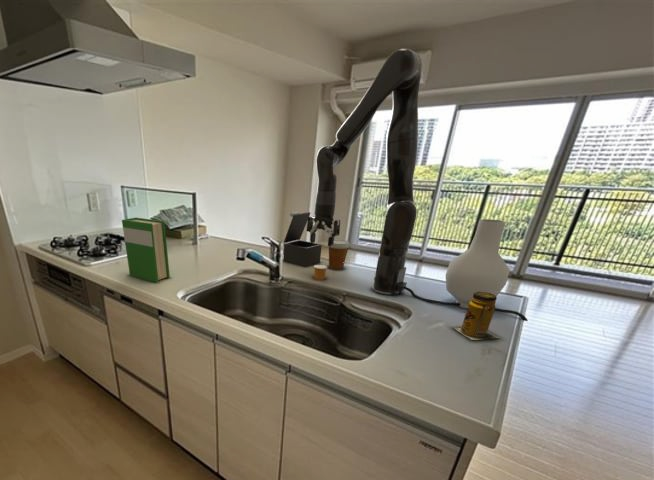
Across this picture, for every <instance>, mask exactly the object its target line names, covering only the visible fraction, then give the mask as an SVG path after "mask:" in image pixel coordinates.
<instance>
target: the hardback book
mask: <svg viewBox="0 0 654 480" xmlns="http://www.w3.org/2000/svg"><path fill="white" fill-rule="evenodd" d="M121 224H122V225H121V226H122V231H123V238H124V239H123V240H124V246H125V251H126V252H125V253H126V259H127V264H128V272H129V276H130V277H131V276H132V277H134V278H138V279H141V280H145V281H149V282H152V283H157V284H158V283H160V282H159V280H160V281H161V280H162V279H170V278H171V275H170V265H169V254H168V245H167V236H166V235H167V234H166V223H165V220H158V219H151V218H150V219H149V218H144V217H131V218H125V219H124V218H123V219H121Z"/></svg>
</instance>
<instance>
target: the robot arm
mask: <svg viewBox="0 0 654 480" xmlns="http://www.w3.org/2000/svg"><path fill="white" fill-rule="evenodd" d="M422 68H423V62H422V58H421V56H420V54H419V53H418V52H416V51H414V50H413V49H410V48H406V47H402V48H401V47H400V48H398V49H396V50H394V51H392V53H390V54H389V56H388V57H387V58H386V59H385V61H384V63H383V64H382V66H381V68H380V69H379V71H378V73H377V75H376V76H375V78H374V80H373V81H372V83H371V84H370V86H369V88H368V89H367V91H366V92H365V94H364V95H363V97H362V99H361V100H360V102H359V103H358V104H357V106H356V107H355V108H354V110H353V111H352V112H351V113H350V115H349V116H348V117H347V119H346V120H345V121H344V122H343V124H342V125H341V126H340V128H339V129H338V130H337V132H336V134H335V139H336V140H335V141H334V143H333V144H332V145H324V146H322V147H320V149H319V150H318V152H317V155H316V161H315V164H316V174H317V179H318V180H317V188H316V189H317V190H316V195H315V203H314V204H315V205H314V215H311V216H309V217H308V221H307V223H306V232H309V242H311V243H316V236H317V233H316V232H317V231H318V230H323V231H325V232H326V233H327V234H328V237H327V238H328V239H327V246H328V247H329V246H332V245H333V244H334V240H335V238H336V237H338V236H340V233H341V232H340V231H341V220H340V219H334V215H335V209H336V201H337V185H338V175H336V173H334V167H336V166H338V165H340V164H341V163H342V162H343V161H344V159H345V158H346V157H347V155H348V153H349V151H350V149H351V148H352V146H353V144H354V143H356V141H357V140H358V139H359V138H360V137H361V135H362V134H363V133H364V132H365V131H366V129H367V128H368V127H369V125H370V123H371V121H372V119H373V118H374V116H375V114H376V113H377V111H378V109H379V108H380V107H381V106H382V104H383V103H384V101H385V100H386V99H387V98H388V97H389V96H390V95H391V94H392V111H391V116H390V120H389V124H388V128H387V132H386V137H385V138H386V140H385V141H386V142H385V160H386V171H387V177H388V196H387V205H386V210H385V219H384V223H383V231H382V235H381V240H380V246H379V250H378V251H379V252H378V258H377V263H376V267H375V273H374V277H373V285H372V291H373V292H375V293H377V294H380V295H386V296H387V295H389V296H396V295H398V294H399V293H403V291H407V292H409V293H410V294H411V296H412V297H414V298H415V299H418V300H420V301H422V302H423V301H424V302H427V303H432V304H437V305H443V306H456V307H460V303H456V302H448V301H440V300H435V299H430V298H429V299H428V298H424V297H421V296H419V295H417V294H415V293H414V290H413V289H411V288H409V287H407V282H405V276H406V272H407V267H406V266H405V265H406V261H407V255H408V252H409V247H410V242H411V240H412V236H413V233H414V228H415V225H416V221H417V215H418V213H417V212H418V211H417V207H416V205H415V201H414V187H413V182H414V175H415V170H416V166H417V159H418V149H419V106H418V105H419V93H420V84H421V76H422ZM494 312H499V313H504V314H505V313H506V314H512V315H516V316H518V317H520V318H521V319H522V321H524V322H529V321H528V318H527V317H526V316H525V315H524V314H523V313H521V312H520V311H519V312H518V311H516V310H511V309H503V308H498V307H495V311H494Z"/></svg>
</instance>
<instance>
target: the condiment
mask: <svg viewBox="0 0 654 480" xmlns="http://www.w3.org/2000/svg"><path fill="white" fill-rule="evenodd" d="M497 299H498V297H496V296H495V295H493V294H491V293H486V292H475V293H474V294H473V298H472V301H470V302H469V305H468V308H466V312H465V315H464V318H463V322H462V324H461V327H457V328H456V327H453V329H454V330H456V331H457V332H458V333H460V334H461V335H463V336H464V337H466V338H467V339H469V340H471V341H478V340H480V341H481V340H491V339H492V340H493V339H501V337H500V336H497V335H495V334H493V333H492V332H490V331H488V330H489V328H490V324H491V322H492V319H493V316H494V314H495V312H496V311H495V308H496V302H497Z"/></svg>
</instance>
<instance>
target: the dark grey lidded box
mask: <svg viewBox="0 0 654 480" xmlns="http://www.w3.org/2000/svg"><path fill="white" fill-rule="evenodd" d="M283 243H284V242H283ZM322 245H323V244H321V243H317V242H314V243H311V241H308V240H301V239H299V240H295V241H291V242H287V243H284V244H283V255H284V259H283V258H282V261H283V262H284V263H289V264H292V265H296V266H299V267H304V268H306V267H309V266H314V265H317V264H319V263H321V258H322V257H321V255H322Z"/></svg>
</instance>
